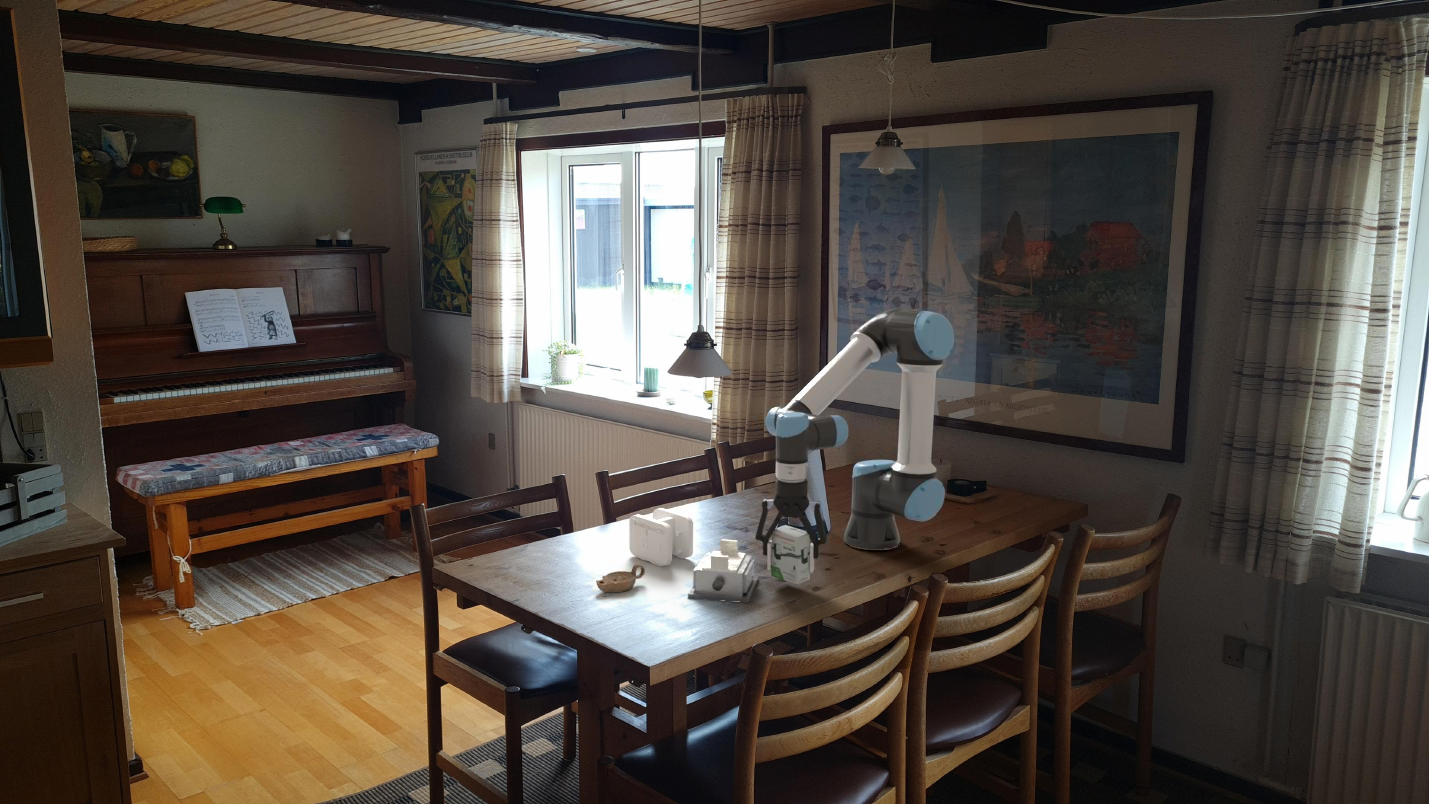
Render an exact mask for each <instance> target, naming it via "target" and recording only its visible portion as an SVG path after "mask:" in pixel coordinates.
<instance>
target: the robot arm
mask: <svg viewBox="0 0 1429 804" xmlns="http://www.w3.org/2000/svg"><path fill="white" fill-rule="evenodd" d="M954 344H955V333H954V328H953V326H952V323H951V322H950V321H949V320H948V318H947V317H946V316H945V315H944V314H941V313H939V312H934V311H930V310H916V309H915V310H913V309H902V308H891V309H887V310H884V311H881V312H880V313H878V314H876V315H875V316H873V317H872V318H870V319H868V320H867V321H866V322H865V323H863V324H862V325H861V326H860V327H858V329H856V331H854V332H853V334H852V335H850V342H848V344H847V345H846V346H845V347H844V348H842V350H841V351H840V352H839V353H837V355H835V357H834V358H833V359H831V361H830V362H829V363H827V365H825V366H824V367H823V368H822V369H821V371H820V372H819V373H817V375H815V376H814V377H813V379H811V380H810V381H809V383H807V384H806V386H804V387H803V388H802V390H801V391H799V393H797V394H796V395H795V397H793V398H792V399H791V401H790V402H788V403H787V404H786V405H785V406H775V407H773V408H771V409H770V410H769V411H768V412H767V415H766V417H765V421H764V422H765V423H764V424H765V428H766V429H767V431H768V433H769V434H771V435H772V436H774V437H775V477H776V479H775V495H774V496H775V497H774V498H773V499H768V498H767V497H766V498H763V500H762V502H761V507H762V511H761V515H760V519H759V522H758V527H757V531H756V533H755V537H754V538H755V540H756V541H759V542H760V541H761V542H762V555H763V556H767V557H766V559H767V563H766V564H767V567H766V570H767V571H771V562H772V561H771V560H772V539H771V538H772V533H773V532H774V530H775V529H776V528H777V527H778V525H779V523H780V521H781V520H782V518H786V519H787V518H793V519H798V520H799V522H801V524H802V526H803V527H804V531H806V532H807V534H808V535H809V537H810V539H811V544H810V574H814V571H815V559H816V560H817V559H818V558H819V555H820V546H821V545H825V544H826V543H827V541H828V538H827V533H826V529H825V525H824V521H823V517H822V514H821V513H822V512H821V505H822V503H821V501H820V500H817V501H811V500H810V499H809V496H808V490H809V489H808V488H809V487H808V482H809V481H808V479H807V478H808V476H809V473H808V472H809V452H813V451H818V450H825V449H832V448H833V449H834V448H835V447H838V446H842V445H844V444H845V443H846V441H847V440H848V438H849V426H848V423H847V421H846V419H845V418H844V417H842V416H841V415H837V414H835V415H831V414H830V415H827V416H823V415H821V413H823V411H824V410H825V409H827V408H828V406H829V405H831V403H832V402H834V400H835V399H836V398H837V397H838V396H839V395H840V394H841V393H842V392H843V391H844V390H845V389H846V388H847V387H848V386H849V385H850V384H851V383H852V382H853V381H854V380H855V379H857V377H858V376H859V375H860V374H862V372H863V371H864V370H865V369H866V368H867V367H868V366H869V365H870V364H871V363H876V362H878V361H879V360H881V358H883V357H884V356H887V355H888V354H896V364H897V366H898V367H899V368H900V369H901V384H900V385H901V386H900V403H899V404H900V405H899V421H898V422H899V424H898V442H897V460H896V461H895V460H891V459H889V460H888V459H871V460H870V459H869V460H864V461H863V460H862V461H859V462H856V463H855V464H854V466H853V468H852V469H853V470H852V476H851V512H850V513H851V515H850V517H849V520H848V523H847V525H846V527H845V530H844V535H843V542H844V541H845V542H846V543H848V544H850V545H852V546H856V547H860V548H867V549H884V548H892V547H894V546H897V545H898V544H899V543H901V542H900V541H901V540H900V539H901V536H900V534H899V530H898V526H897V523H896V519H895V515H896V516H900V517H902V518H905V519H907V520H911V521H917V522H927V521H929V520H931V519H933V518H934V517H935V516H936V515H937V513H938V512H940V510H941V509H942V506H943V505H944V501H945V497H946V490H945V486H944V485H943V482H941V481H940V480H939V479H938V478H937V467H935V465H934V464H933V463H932V451H933V449H932V448H933V433H934V432H933V431H934V415H935V401H936V400H935V398H936V395H935V394H936V382H937V381H936V380H937V379H936V377H937V371H938V370H939V369H940V368H941V367H943V362H944V359H946V358H947V357H949V355H950V354H951V351H952V350H953V348H954ZM773 505H774V507H775V508H776V510H777V514H776V516H775V518H774V519H773V522H772V523H771V525H770V526H769V528H768V530H767V531H766V533H765V534H763V533H764V530H765V529H764V528H765V525H766V521H767V518H768V515H769V512H770V511H769V510H770V509H771V508H772V506H773ZM808 508H810V509H811V511H812V512H813V515H814V519H815V524H816V527H817V533H818V535H817V533H816V531H815V530H814V527H813V526H812V523H811V521H810V520H809V517H808V516H807V513H806V510H807V509H808ZM818 536H819V537H818ZM770 539H771V540H770ZM899 545H900V544H899Z"/></svg>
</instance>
